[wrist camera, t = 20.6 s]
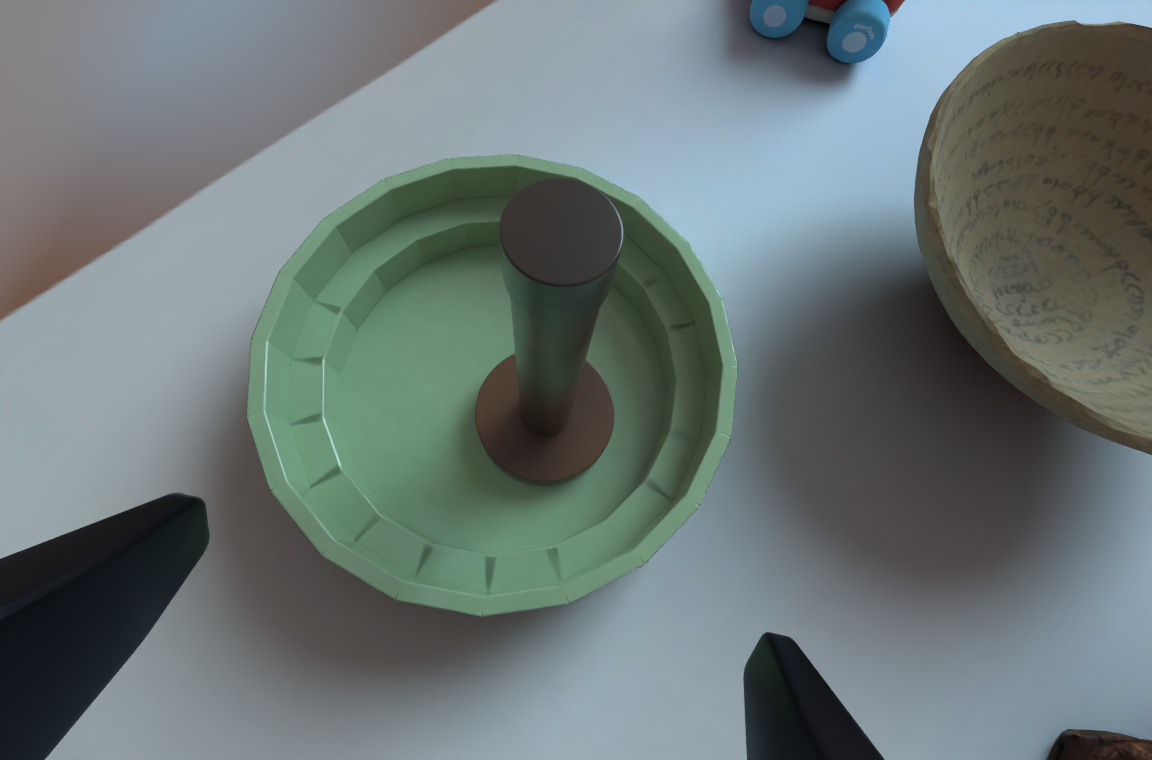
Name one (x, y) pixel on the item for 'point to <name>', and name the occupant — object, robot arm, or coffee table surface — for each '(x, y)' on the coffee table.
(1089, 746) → the pastry
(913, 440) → the coffee table surface
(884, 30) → the toy car
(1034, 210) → the bowl
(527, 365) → the paper towel holder
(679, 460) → the green round dish
